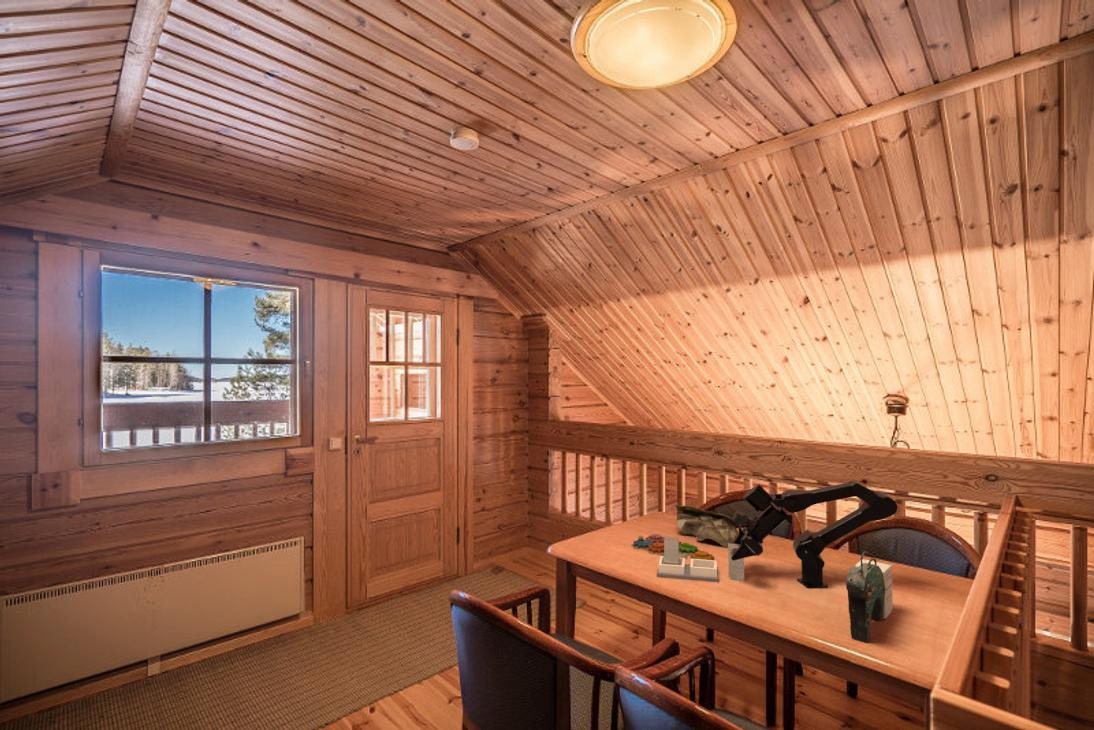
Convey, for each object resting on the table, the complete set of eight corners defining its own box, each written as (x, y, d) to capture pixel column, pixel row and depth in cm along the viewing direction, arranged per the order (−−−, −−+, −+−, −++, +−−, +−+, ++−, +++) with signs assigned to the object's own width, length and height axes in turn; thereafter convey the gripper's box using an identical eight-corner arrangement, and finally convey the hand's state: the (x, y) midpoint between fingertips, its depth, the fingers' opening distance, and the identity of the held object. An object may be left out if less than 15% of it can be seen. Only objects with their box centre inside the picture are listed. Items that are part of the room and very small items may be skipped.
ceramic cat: (870, 647, 127) (867, 563, 127) (840, 638, 131) (837, 556, 131) (891, 618, 141) (888, 541, 141) (863, 610, 145) (861, 536, 145)
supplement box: (854, 611, 145) (853, 564, 145) (863, 602, 150) (862, 557, 150) (886, 620, 140) (884, 572, 140) (893, 610, 145) (892, 564, 145)
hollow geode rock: (676, 543, 221) (658, 521, 215) (690, 517, 226) (672, 495, 221) (736, 559, 198) (717, 535, 192) (749, 530, 204) (731, 506, 198)
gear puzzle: (723, 558, 189) (723, 547, 189) (696, 570, 179) (696, 558, 179) (654, 538, 213) (654, 528, 213) (627, 547, 203) (626, 537, 203)
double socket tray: (718, 569, 178) (717, 559, 178) (718, 582, 167) (718, 571, 167) (659, 564, 183) (659, 554, 183) (656, 576, 173) (656, 565, 173)
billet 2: (743, 575, 172) (742, 544, 172) (744, 580, 168) (743, 548, 168) (728, 574, 174) (728, 543, 174) (729, 579, 169) (728, 547, 169)
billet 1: (679, 567, 178) (678, 536, 178) (678, 571, 174) (678, 541, 174) (665, 565, 179) (665, 535, 179) (664, 570, 175) (664, 540, 175)
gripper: (746, 496, 179) (712, 527, 182) (750, 510, 161) (712, 544, 164) (771, 521, 177) (737, 552, 180) (779, 538, 159) (740, 572, 162)
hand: (731, 554), depth 171 cm, fingers open, 9 cm apart
